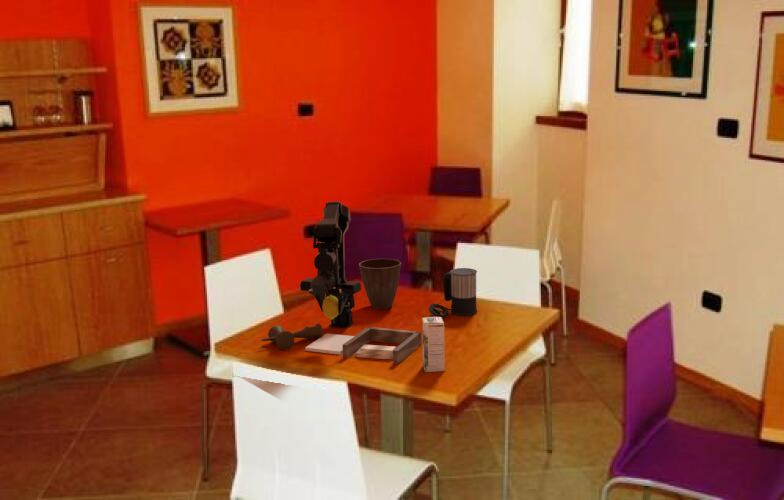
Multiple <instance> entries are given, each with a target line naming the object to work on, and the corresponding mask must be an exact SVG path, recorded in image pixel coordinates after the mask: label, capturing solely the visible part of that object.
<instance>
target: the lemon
mask: <svg viewBox="0 0 784 500" xmlns="http://www.w3.org/2000/svg"><path fill="white" fill-rule="evenodd" d="M322 309H323V312H322V313H323V315H324V316H325V317H327V318H328V319H330V321H331V320H333V319H334V318H335V317H337V316H338V314H339V311H338V299H337V298H336V297H335V296H332V295H329V296H328V297H326V296H325V299H324V301H323V305H322Z"/></svg>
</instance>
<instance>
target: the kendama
mask: <svg viewBox="0 0 784 500" xmlns="http://www.w3.org/2000/svg"><path fill="white" fill-rule="evenodd" d="M323 332H324V330H323V326H322V325H321V324H320V323H316V324H315V325H313V326H309V325H306V326H305V327H304V328H302V329H300V330H297V331H294V332H291V331H289V330H286V331H285V329H284V328H283V326H280V325H273V326H271V327H270V328H269V330H268V332H267V338H262V339H261V340H260V341H262V342H269V341H270V342H272V343H274V344H276V347H277V348H278V349H279V350H282V351H285V350H286V351H287V350H290V349H291V348H292V347H293V346H294V344H295V339H306V340H307V341H308V340H311V339H315V338H317V340H318V339H319V338H321V337H322V336H324V335H323V334H324V333H323Z"/></svg>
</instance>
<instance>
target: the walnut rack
mask: <svg viewBox="0 0 784 500" xmlns="http://www.w3.org/2000/svg"><path fill="white" fill-rule="evenodd" d="M353 336H354V337H353V338H352V339H350V340H349V341H347V342H346V343H344V344H343V345H342V346H343V353H342V357H343V359H344V358H345V359H349V358H350V357H351V356H353V355H354V354H355V353H356V352H357V351H358V350H359V349H360V348H361V347H362V346H363V345H369V343H370V342H381V343H389V344H398V346H396V348H395V349H394V350H393V359H392V361H393V364H395V365H400V364H401V363H402V362H403V361H404V360H405V359H406V358H407V357H409V356H410V355H411V354H413V352H415V350H416V349H418V348H419V347H420V346H421V345H423V342H422V331H414V330H405V329H395V328H385V327H384V328H383V327H375V326H367V327H366V328H364V329H363V330H362V331H360V332H358V333H357V334H356V335H353Z"/></svg>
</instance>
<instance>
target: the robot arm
mask: <svg viewBox="0 0 784 500" xmlns="http://www.w3.org/2000/svg"><path fill="white" fill-rule="evenodd" d="M350 223H351V211H350V208H349V207H348V206H346V205H344V204H343V203H342V202H341V201H328V202H325V207H323V216H322V220H319V221H317V223H316V225H315V226H314V228H313V243H312V248H313V249H317V250H318V253H317V254H316V256H315V258H314V259H313V265H314V267H315V269H316V270H317V271H316V272H317V274H316V276H315V277H307V278H305V279H303V280H301V281H300V283H299V291H303V292H304V291H305V292H308V294H309V295H310V294H311V295H313V297H314V298H315V300H316V302H317V303H318V306H319V308H320V311H321V313H323V309H322V305H323V301H324V299H325V298H326V297H328V296H329V295H332V296H335V297H336V298H337V299H338V311H339V314H338V316H337V317H335V318H334V319H333V320H331V319H330V323H329V324H328V327H331V328H338V329H339V328H340V329H347V328H349V326H351V325H354V323H355V321H354V320H353V319H354V318H353V311H352V310H353V308H355V307H356V304H355V294H357V293H359V292H361V291H362V284H361V282H360V281H357V280H348V281H347V279H346V261H345V259H346V258H345V257H346V255H345V253H346V252H345V234H346V232H347V231H348V230H349V227H350V226H349V224H350Z"/></svg>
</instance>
